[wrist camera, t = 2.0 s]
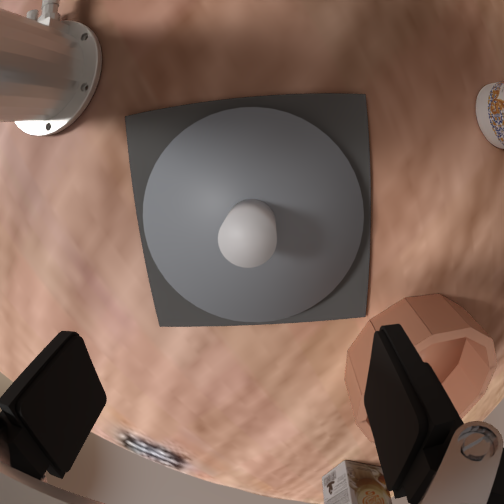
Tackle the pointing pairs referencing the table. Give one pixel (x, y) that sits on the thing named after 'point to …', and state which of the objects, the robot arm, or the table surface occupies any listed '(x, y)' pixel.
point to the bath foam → (491, 113)
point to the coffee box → (355, 485)
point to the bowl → (428, 351)
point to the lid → (253, 214)
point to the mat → (301, 105)
